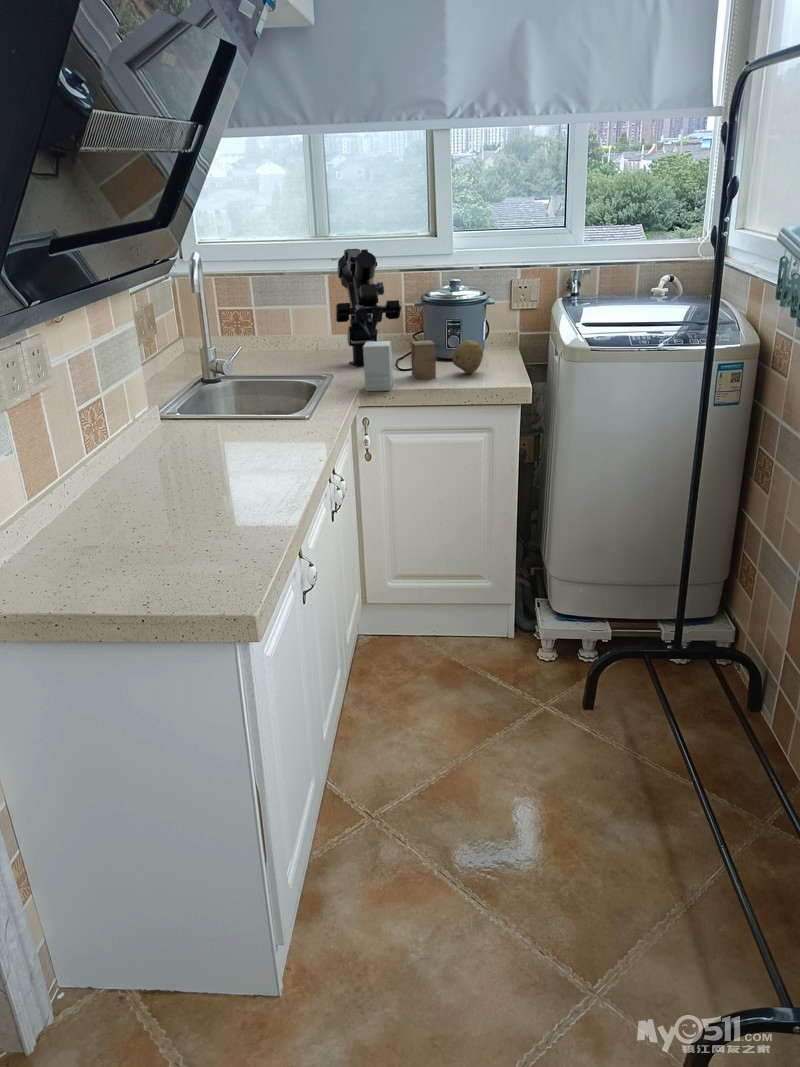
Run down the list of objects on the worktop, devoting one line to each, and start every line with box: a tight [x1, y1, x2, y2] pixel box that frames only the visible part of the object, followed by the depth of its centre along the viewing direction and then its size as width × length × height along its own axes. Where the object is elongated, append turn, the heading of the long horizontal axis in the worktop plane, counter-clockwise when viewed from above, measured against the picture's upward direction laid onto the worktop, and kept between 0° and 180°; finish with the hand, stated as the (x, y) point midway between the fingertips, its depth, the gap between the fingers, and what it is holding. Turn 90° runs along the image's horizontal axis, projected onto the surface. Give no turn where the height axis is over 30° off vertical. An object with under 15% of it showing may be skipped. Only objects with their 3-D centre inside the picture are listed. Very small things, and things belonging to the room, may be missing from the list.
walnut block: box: [410, 339, 437, 381], centre depth 246 cm, size 6×6×10 cm
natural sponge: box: [452, 339, 484, 375], centre depth 248 cm, size 9×9×10 cm
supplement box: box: [363, 340, 394, 392], centre depth 234 cm, size 7×7×13 cm
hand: (372, 335), depth 240 cm, fingers closed
